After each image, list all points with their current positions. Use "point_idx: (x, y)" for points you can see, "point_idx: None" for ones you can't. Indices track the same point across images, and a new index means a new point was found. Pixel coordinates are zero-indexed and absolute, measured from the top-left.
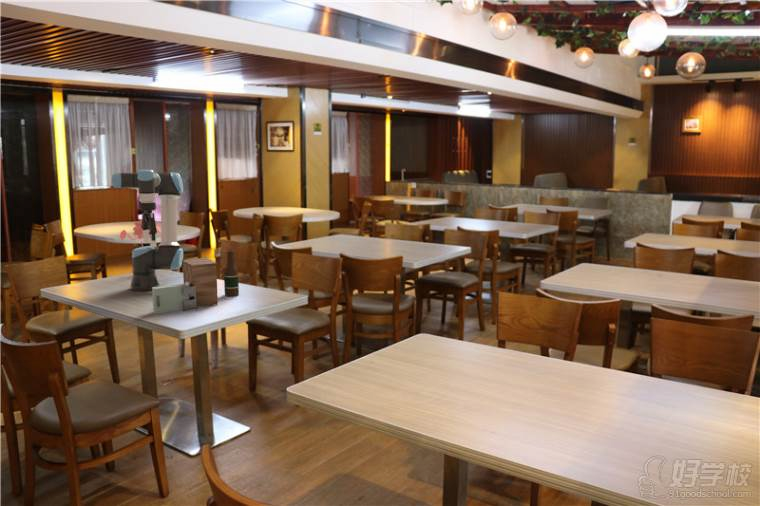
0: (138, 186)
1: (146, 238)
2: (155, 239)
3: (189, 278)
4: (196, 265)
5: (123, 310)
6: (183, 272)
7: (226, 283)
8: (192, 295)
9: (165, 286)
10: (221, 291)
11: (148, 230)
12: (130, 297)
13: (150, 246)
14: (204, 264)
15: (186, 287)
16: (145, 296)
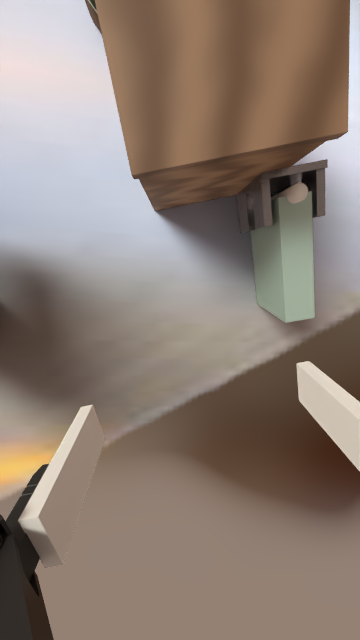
0: None
1: (88, 451)
2: (351, 402)
3: (244, 172)
4: (345, 99)
5: (213, 368)
6: (148, 188)
7: None
8: (280, 184)
9: (293, 278)
10: (44, 49)
11: (41, 512)
12: (74, 353)
13: (305, 403)
14: (348, 32)
15: (324, 201)
16: (70, 317)
